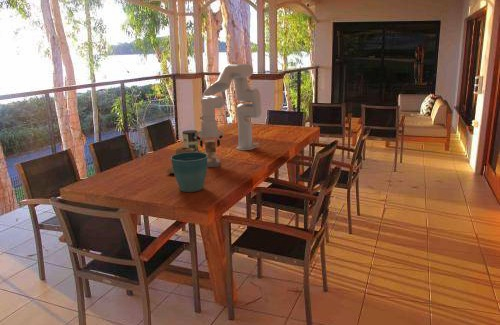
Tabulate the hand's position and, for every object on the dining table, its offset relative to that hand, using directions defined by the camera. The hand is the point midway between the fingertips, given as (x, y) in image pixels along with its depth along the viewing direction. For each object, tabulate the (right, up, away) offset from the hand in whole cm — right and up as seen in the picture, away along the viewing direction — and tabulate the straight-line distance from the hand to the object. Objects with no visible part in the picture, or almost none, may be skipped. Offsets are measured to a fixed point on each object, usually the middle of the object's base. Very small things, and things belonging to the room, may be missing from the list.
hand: (210, 146), depth 264 cm
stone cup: (-14, -16, -14) cm, 25 cm away
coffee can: (-17, -2, +40) cm, 43 cm away
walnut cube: (0, -3, +1) cm, 3 cm away
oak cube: (0, -8, +2) cm, 9 cm away
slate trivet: (0, -11, +3) cm, 11 cm away
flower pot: (-6, -23, -43) cm, 49 cm away
